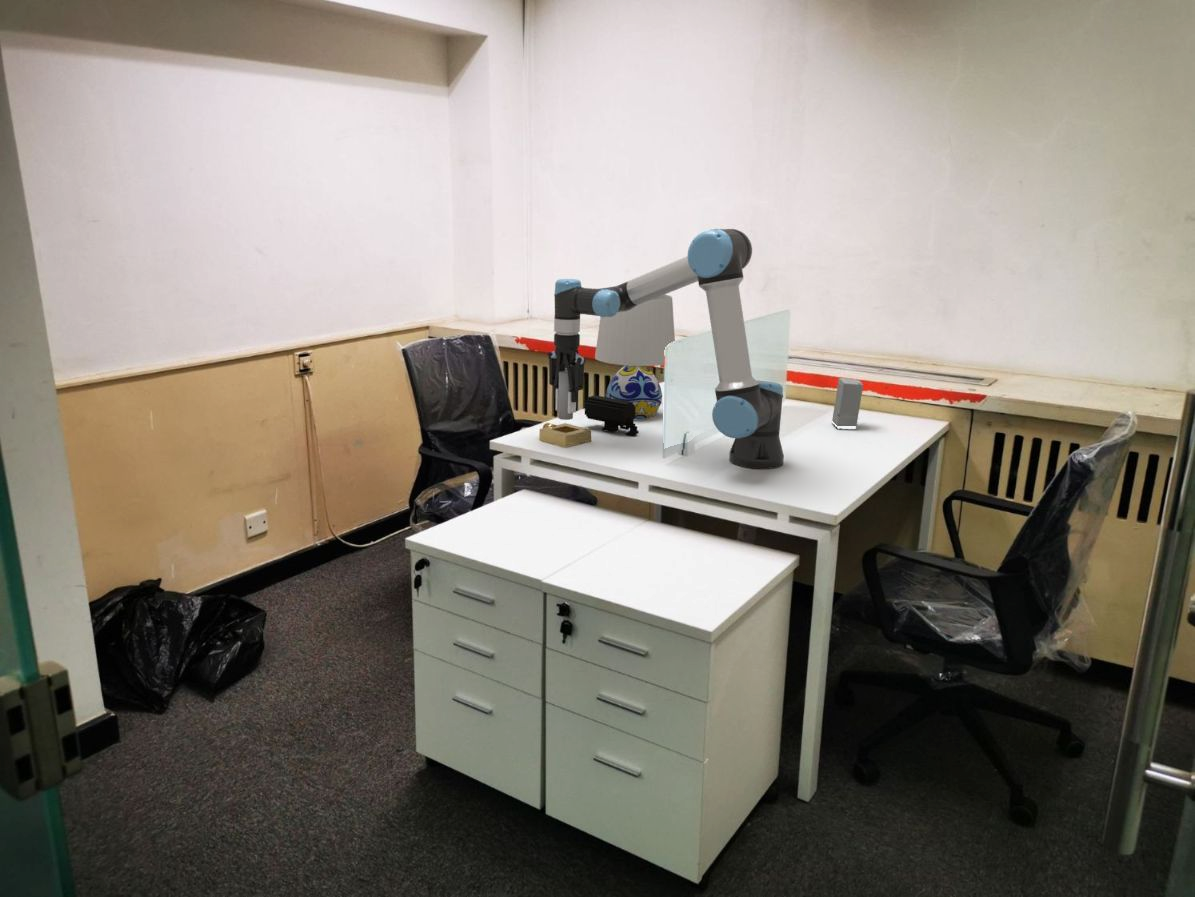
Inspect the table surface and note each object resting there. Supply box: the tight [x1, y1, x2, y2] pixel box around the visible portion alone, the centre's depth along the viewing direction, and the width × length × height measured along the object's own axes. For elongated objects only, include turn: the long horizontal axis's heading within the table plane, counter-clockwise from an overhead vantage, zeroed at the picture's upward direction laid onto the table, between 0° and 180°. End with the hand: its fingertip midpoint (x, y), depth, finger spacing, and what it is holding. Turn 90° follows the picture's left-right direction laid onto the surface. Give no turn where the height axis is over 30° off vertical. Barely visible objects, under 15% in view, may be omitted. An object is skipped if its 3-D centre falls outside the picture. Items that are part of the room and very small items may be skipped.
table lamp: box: [594, 294, 676, 421], centre depth 300 cm, size 27×27×40 cm
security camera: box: [584, 394, 639, 437], centre depth 282 cm, size 7×18×10 cm, turn 53°
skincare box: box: [831, 377, 864, 427], centre depth 294 cm, size 8×7×16 cm
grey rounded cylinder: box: [557, 369, 574, 421], centre depth 267 cm, size 4×4×14 cm
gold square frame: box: [538, 422, 592, 449], centre depth 271 cm, size 14×11×4 cm
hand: (565, 410), depth 269 cm, fingers closed on grey rounded cylinder, 4 cm apart
